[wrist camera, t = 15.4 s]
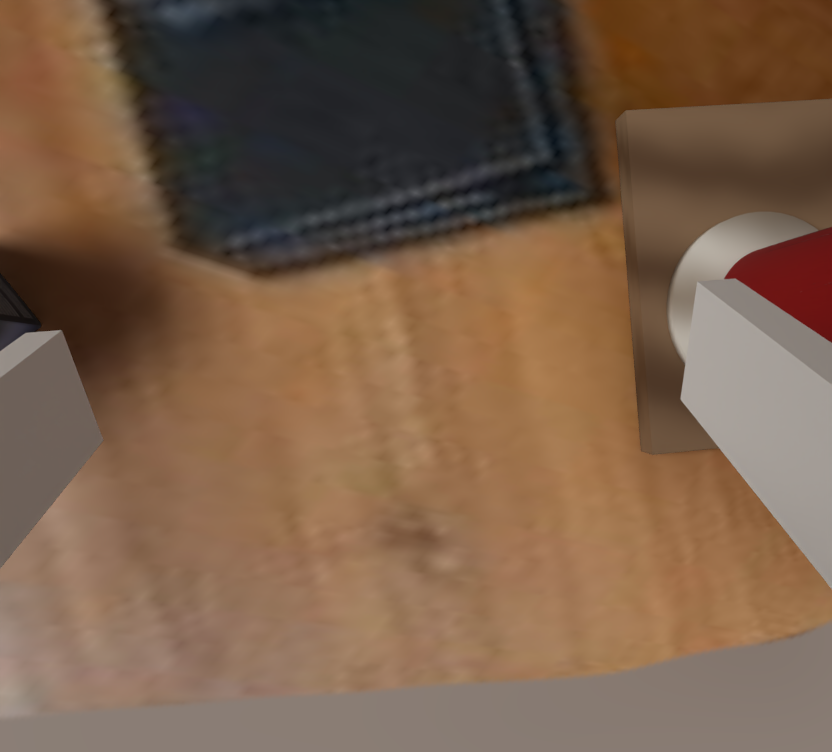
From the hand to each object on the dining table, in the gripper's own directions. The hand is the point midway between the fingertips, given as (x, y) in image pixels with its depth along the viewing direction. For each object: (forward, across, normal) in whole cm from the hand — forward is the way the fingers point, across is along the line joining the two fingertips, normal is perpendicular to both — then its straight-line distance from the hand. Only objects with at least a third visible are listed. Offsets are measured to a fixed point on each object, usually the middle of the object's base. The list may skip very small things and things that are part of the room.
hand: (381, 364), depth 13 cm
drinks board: (+24, +20, -8) cm, 32 cm away
